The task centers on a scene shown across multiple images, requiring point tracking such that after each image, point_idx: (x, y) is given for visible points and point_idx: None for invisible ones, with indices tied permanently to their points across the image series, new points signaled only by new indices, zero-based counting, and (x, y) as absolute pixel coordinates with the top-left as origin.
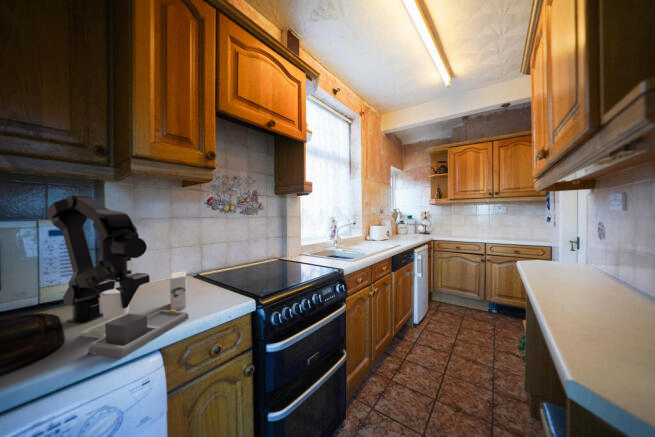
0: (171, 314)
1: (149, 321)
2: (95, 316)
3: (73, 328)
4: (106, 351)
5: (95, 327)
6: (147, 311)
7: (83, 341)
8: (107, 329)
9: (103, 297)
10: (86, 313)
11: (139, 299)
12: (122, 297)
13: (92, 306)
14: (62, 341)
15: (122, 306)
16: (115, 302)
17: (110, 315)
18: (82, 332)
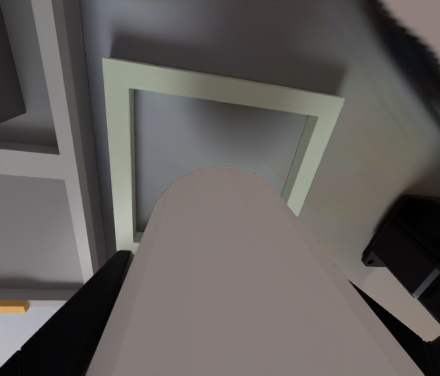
0: (18, 286)
1: (47, 221)
2: (381, 239)
3: (416, 160)
4: None
5: (303, 155)
6: None
7: (265, 33)
8: None
9: (288, 327)
10: (427, 238)
11: None
12: (36, 369)
13: (431, 274)
14: (385, 29)
15: (126, 261)
16: (137, 278)
17: (194, 178)
18: (329, 98)
